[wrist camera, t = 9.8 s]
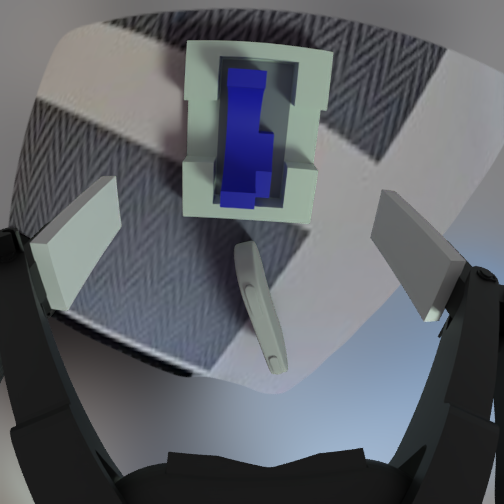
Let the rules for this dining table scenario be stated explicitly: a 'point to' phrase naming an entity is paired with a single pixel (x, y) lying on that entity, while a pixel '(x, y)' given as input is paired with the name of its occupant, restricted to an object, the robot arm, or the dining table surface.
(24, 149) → the dining table surface
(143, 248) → the dining table surface
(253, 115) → the cable clip
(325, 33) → the dining table surface
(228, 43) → the holder
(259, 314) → the slide sandal
